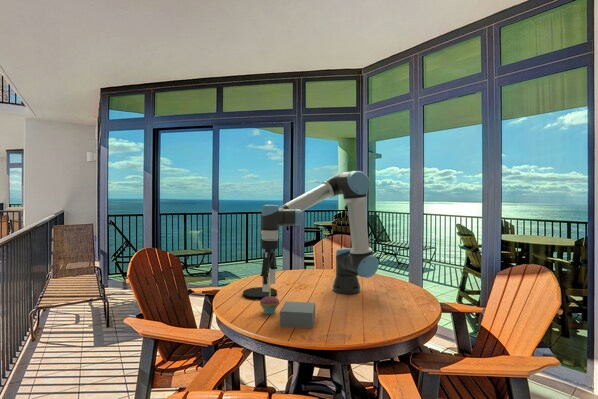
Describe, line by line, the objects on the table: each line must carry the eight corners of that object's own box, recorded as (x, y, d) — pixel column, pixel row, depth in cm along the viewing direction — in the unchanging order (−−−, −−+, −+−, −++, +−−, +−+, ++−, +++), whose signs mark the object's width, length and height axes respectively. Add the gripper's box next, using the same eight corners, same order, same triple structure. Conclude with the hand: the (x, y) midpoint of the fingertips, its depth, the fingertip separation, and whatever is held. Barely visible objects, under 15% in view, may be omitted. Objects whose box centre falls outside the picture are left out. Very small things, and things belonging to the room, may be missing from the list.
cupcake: (260, 309, 155) (260, 283, 155) (279, 309, 156) (279, 282, 156) (259, 316, 147) (259, 288, 147) (279, 315, 148) (279, 287, 148)
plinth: (315, 316, 146) (315, 302, 146) (312, 328, 133) (312, 312, 133) (285, 315, 148) (285, 301, 148) (279, 326, 135) (279, 311, 135)
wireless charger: (267, 289, 191) (267, 285, 191) (283, 297, 176) (283, 293, 176) (237, 293, 182) (237, 290, 182) (251, 302, 167) (251, 298, 167)
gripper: (267, 236, 164) (267, 280, 164) (254, 242, 139) (253, 294, 139) (283, 236, 163) (282, 281, 163) (272, 243, 138) (271, 295, 138)
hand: (269, 287), depth 151 cm, fingers open, 13 cm apart
